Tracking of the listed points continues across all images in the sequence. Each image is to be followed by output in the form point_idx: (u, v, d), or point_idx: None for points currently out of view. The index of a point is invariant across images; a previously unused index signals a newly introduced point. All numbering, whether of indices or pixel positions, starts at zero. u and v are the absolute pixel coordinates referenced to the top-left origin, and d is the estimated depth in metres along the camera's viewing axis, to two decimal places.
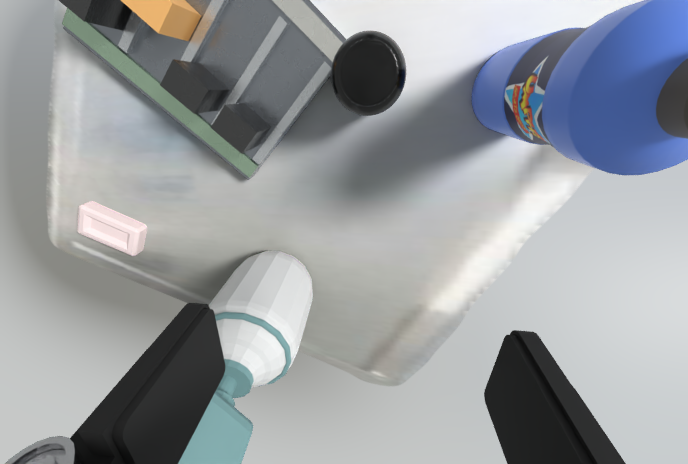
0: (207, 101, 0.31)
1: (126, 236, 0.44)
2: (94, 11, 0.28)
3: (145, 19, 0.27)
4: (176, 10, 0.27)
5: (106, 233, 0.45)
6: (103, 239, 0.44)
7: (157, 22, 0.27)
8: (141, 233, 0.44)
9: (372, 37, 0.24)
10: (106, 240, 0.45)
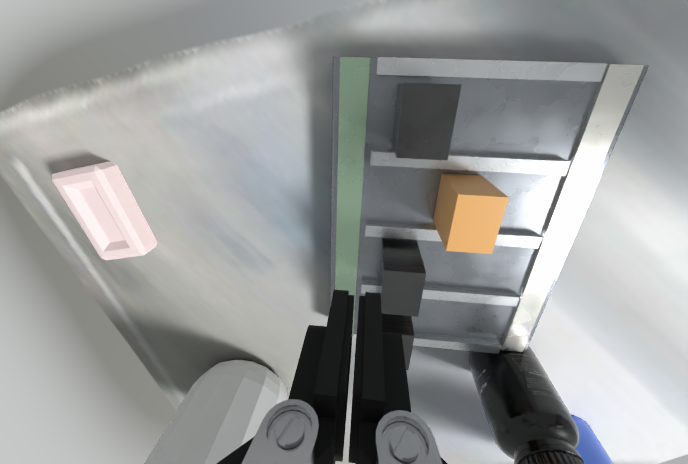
0: None
1: (119, 239, 0.29)
2: None
3: (453, 232, 0.19)
4: None
5: (94, 212, 0.28)
6: (82, 218, 0.27)
7: (458, 246, 0.19)
8: None
9: (575, 438, 0.24)
10: (85, 221, 0.28)
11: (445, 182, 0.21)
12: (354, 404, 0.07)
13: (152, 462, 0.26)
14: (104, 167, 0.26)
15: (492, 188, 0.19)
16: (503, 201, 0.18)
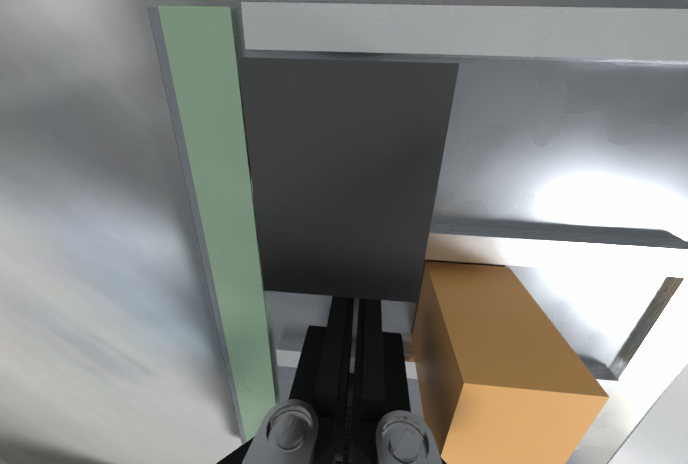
0: None
1: None
2: None
3: (450, 451, 0.07)
4: None
5: None
6: None
7: None
8: None
9: None
10: None
11: (432, 293, 0.09)
12: (354, 404, 0.07)
13: None
14: None
15: (548, 335, 0.08)
16: (592, 404, 0.06)
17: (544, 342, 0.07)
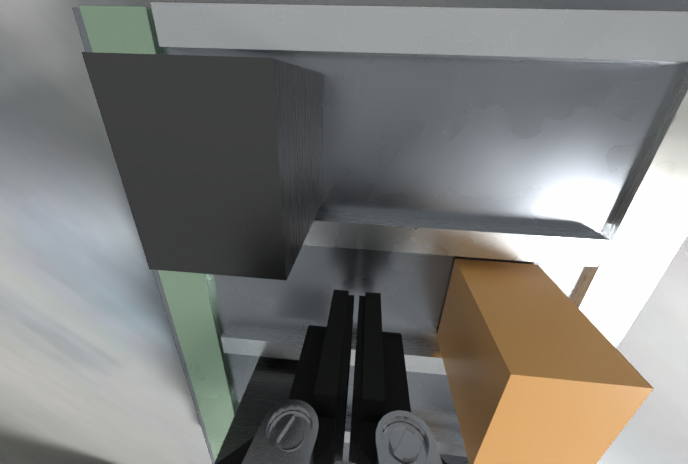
0: None
1: None
2: None
3: (490, 442, 0.08)
4: None
5: None
6: None
7: None
8: None
9: None
10: None
11: (465, 289, 0.10)
12: (354, 404, 0.07)
13: None
14: None
15: (585, 329, 0.08)
16: (635, 395, 0.06)
17: (583, 336, 0.08)
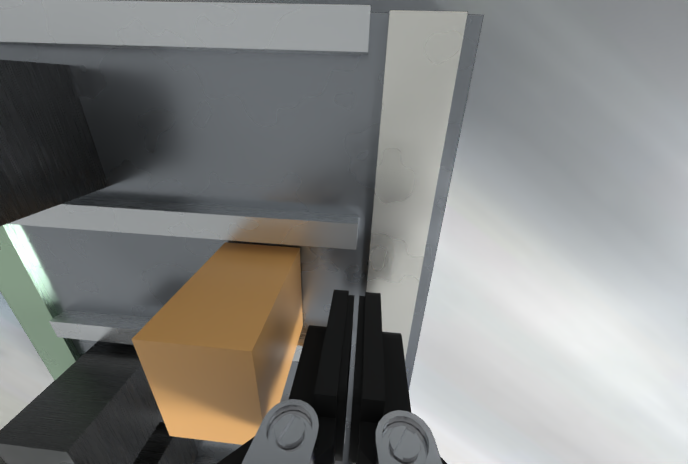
0: None
1: None
2: None
3: (164, 407, 0.08)
4: None
5: None
6: None
7: (190, 430, 0.09)
8: None
9: None
10: None
11: None
12: (354, 404, 0.07)
13: None
14: None
15: (260, 303, 0.08)
16: (243, 358, 0.07)
17: (249, 308, 0.08)
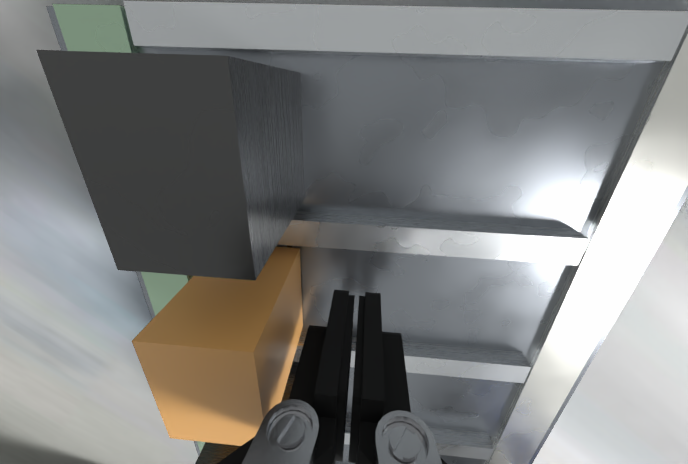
0: None
1: None
2: None
3: (165, 409, 0.08)
4: None
5: None
6: None
7: (191, 432, 0.09)
8: None
9: None
10: None
11: None
12: (354, 404, 0.07)
13: None
14: None
15: (261, 303, 0.08)
16: (244, 359, 0.07)
17: (250, 309, 0.08)
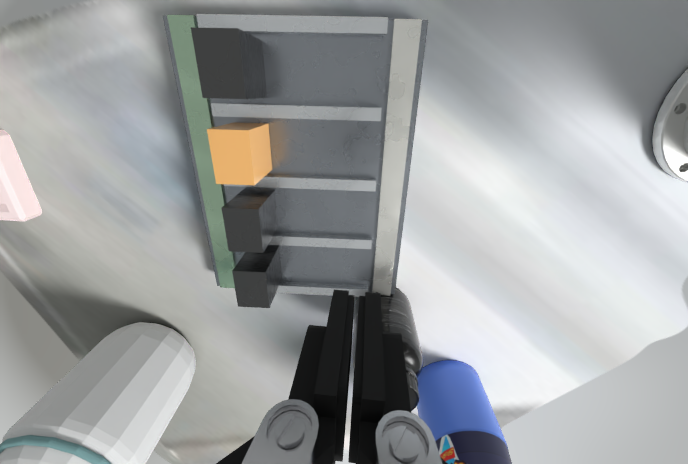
0: None
1: (0, 202, 0.30)
2: None
3: (215, 165, 0.22)
4: None
5: None
6: None
7: (224, 178, 0.22)
8: None
9: (414, 360, 0.27)
10: None
11: None
12: (354, 404, 0.07)
13: (33, 406, 0.28)
14: None
15: (251, 127, 0.22)
16: (245, 134, 0.21)
17: (246, 127, 0.22)
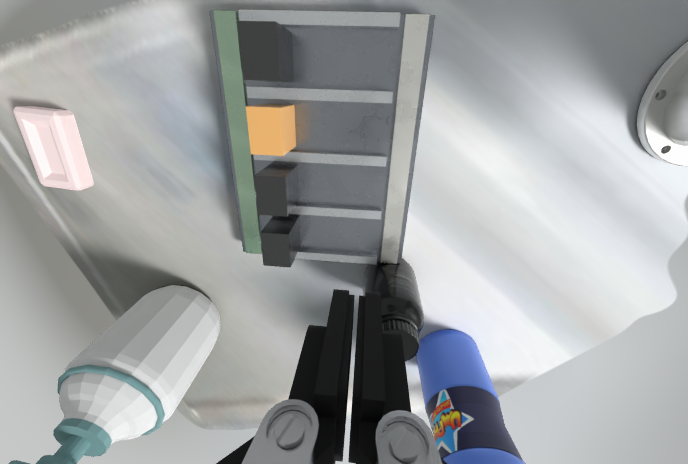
0: None
1: (61, 172, 0.35)
2: None
3: (251, 138, 0.26)
4: None
5: (44, 146, 0.34)
6: (32, 148, 0.34)
7: (258, 149, 0.26)
8: None
9: (416, 315, 0.30)
10: (34, 150, 0.34)
11: None
12: (354, 404, 0.07)
13: None
14: (62, 114, 0.32)
15: (281, 106, 0.26)
16: (277, 111, 0.25)
17: (278, 106, 0.26)
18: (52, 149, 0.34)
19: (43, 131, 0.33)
